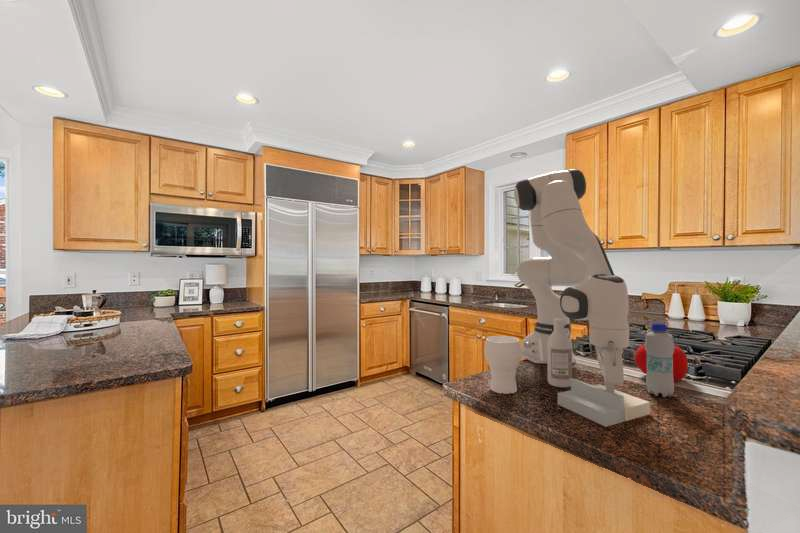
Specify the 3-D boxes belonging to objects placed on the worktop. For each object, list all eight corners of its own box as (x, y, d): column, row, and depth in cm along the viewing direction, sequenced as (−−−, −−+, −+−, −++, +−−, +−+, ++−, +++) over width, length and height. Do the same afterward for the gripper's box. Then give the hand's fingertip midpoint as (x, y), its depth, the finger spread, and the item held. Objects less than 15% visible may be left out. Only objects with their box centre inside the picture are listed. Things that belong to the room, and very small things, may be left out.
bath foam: (577, 387, 106) (576, 320, 105) (555, 388, 105) (553, 321, 105) (564, 379, 113) (563, 316, 112) (543, 380, 112) (542, 317, 111)
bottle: (680, 399, 95) (679, 325, 94) (652, 398, 96) (651, 324, 96) (667, 390, 101) (666, 320, 101) (640, 389, 103) (639, 320, 102)
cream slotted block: (575, 400, 96) (575, 388, 96) (598, 394, 100) (598, 383, 100) (624, 421, 83) (624, 408, 83) (650, 414, 87) (650, 401, 87)
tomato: (669, 388, 103) (669, 349, 103) (627, 373, 116) (626, 339, 116) (700, 382, 107) (699, 345, 106) (655, 369, 120) (655, 335, 120)
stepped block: (557, 404, 94) (557, 381, 94) (574, 400, 96) (574, 378, 96) (605, 426, 81) (605, 400, 81) (623, 421, 83) (623, 396, 83)
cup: (477, 389, 107) (476, 339, 106) (499, 380, 113) (498, 333, 113) (508, 399, 98) (507, 345, 98) (529, 389, 105) (528, 339, 105)
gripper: (630, 348, 80) (631, 408, 80) (617, 330, 99) (617, 380, 99) (598, 346, 83) (600, 405, 83) (591, 329, 101) (592, 377, 102)
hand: (609, 391), depth 91 cm, fingers closed
